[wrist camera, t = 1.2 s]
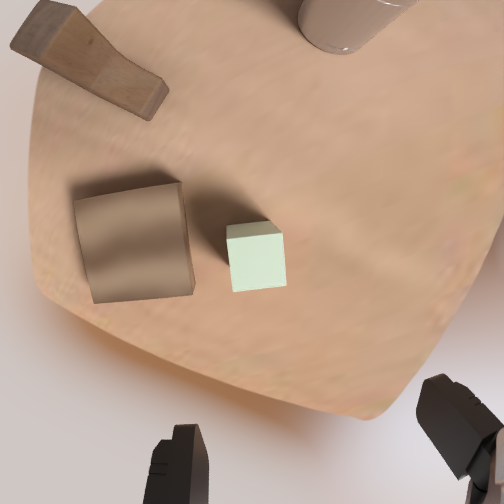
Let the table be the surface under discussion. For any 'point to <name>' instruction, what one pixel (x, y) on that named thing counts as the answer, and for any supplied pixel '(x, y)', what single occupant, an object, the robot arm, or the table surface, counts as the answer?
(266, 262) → the green block
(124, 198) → the brown tapered block
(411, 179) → the table surface
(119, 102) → the wooden block
